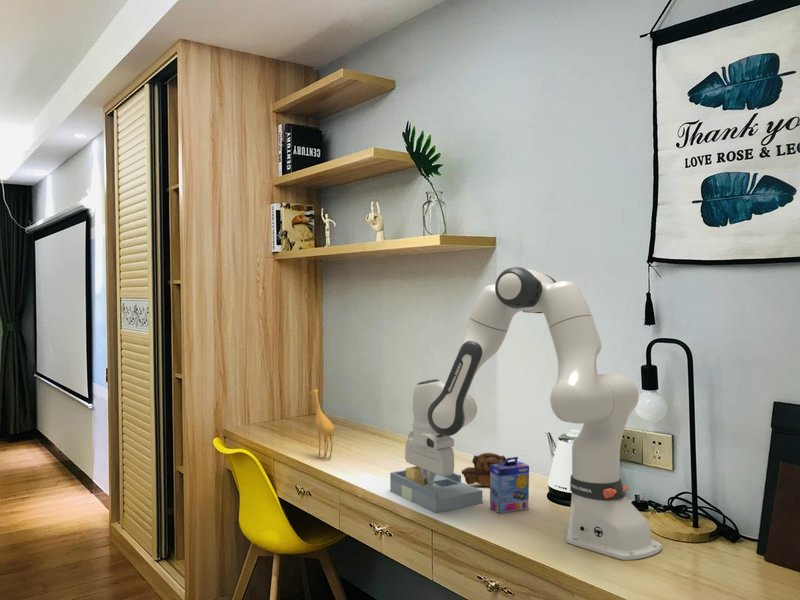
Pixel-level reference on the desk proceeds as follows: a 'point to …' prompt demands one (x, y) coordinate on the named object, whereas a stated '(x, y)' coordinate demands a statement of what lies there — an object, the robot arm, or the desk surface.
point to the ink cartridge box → (509, 486)
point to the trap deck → (436, 492)
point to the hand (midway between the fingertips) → (428, 484)
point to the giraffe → (323, 425)
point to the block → (414, 475)
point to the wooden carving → (482, 468)
